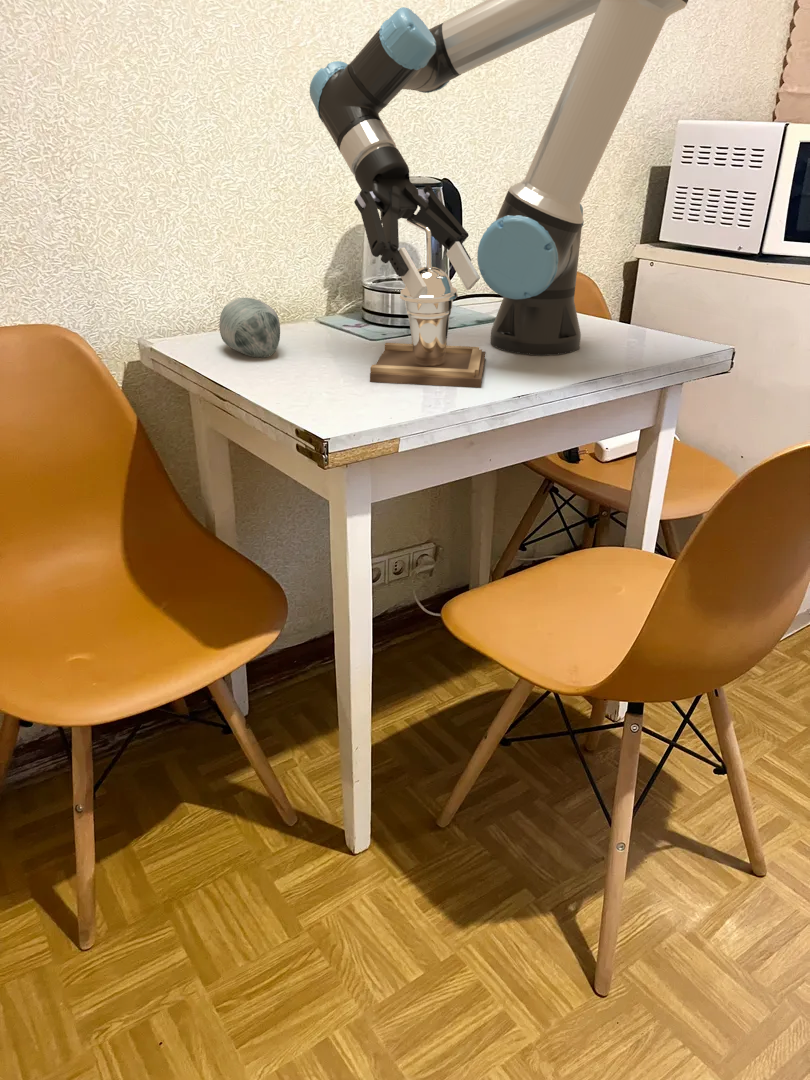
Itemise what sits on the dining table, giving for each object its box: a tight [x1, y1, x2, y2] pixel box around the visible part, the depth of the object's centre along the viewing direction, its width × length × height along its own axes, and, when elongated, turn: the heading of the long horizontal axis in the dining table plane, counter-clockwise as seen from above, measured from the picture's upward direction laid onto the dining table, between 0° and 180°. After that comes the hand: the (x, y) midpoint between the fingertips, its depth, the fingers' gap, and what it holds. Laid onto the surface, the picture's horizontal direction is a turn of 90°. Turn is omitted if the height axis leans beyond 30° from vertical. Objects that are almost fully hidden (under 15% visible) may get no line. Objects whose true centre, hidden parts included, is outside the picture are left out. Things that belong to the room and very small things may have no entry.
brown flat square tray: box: [369, 342, 486, 389], centre depth 124 cm, size 16×16×2 cm
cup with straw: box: [399, 218, 459, 366], centre depth 119 cm, size 8×9×20 cm
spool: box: [218, 297, 281, 359], centre depth 132 cm, size 14×10×10 cm
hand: (447, 288), depth 117 cm, fingers open, 10 cm apart
